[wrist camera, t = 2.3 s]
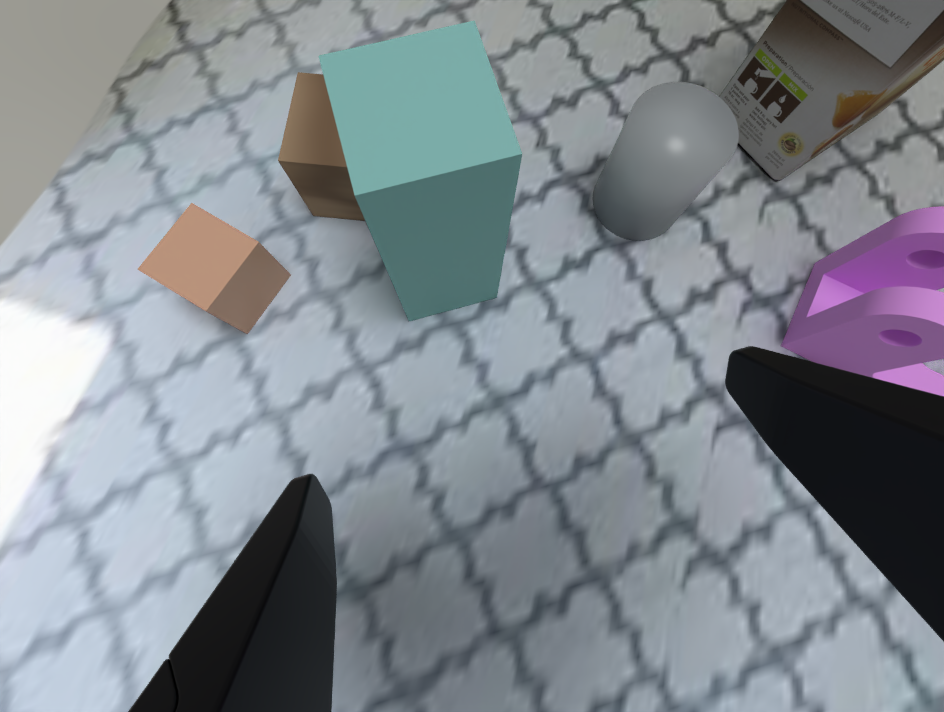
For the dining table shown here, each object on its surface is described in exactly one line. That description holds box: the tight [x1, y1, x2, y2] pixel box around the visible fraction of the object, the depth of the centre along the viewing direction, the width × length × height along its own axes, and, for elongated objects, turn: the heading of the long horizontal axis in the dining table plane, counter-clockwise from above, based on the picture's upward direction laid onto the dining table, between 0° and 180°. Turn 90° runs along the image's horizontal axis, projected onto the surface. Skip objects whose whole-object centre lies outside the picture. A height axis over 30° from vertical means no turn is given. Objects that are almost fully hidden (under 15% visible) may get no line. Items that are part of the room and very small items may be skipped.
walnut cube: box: [278, 72, 365, 221], centre depth 24 cm, size 5×5×5 cm
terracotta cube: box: [138, 203, 291, 334], centre depth 23 cm, size 4×4×4 cm
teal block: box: [319, 21, 522, 321], centre depth 19 cm, size 5×5×12 cm
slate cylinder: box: [593, 82, 739, 241], centre depth 23 cm, size 5×5×6 cm
